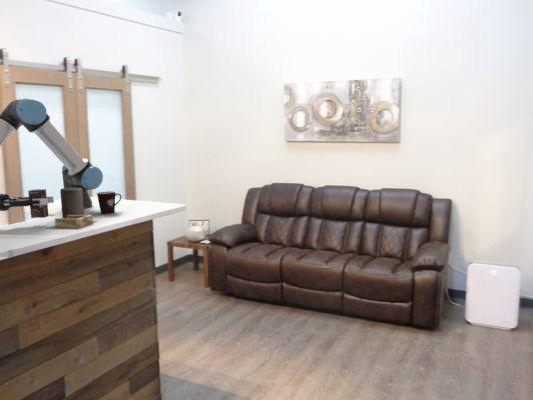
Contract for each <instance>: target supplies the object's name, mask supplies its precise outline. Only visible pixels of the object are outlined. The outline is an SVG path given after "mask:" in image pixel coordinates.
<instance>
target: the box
mask: <svg viewBox="0 0 533 400" xmlns="http://www.w3.org/2000/svg"><path fill="white" fill-rule="evenodd" d="M27 191H28V197H29V199H40V198H47V197H48V196H47V189H46V188H44V189H43V188H42V189H40V188H39V189H31V190H27ZM48 205H49V204H48ZM48 205H33V204H32V207H30V206H29V210H30V218H31V219H35V218H41V219H42V218H43V219H44V218H45V219H46V218H47V217H49V215H50V214H49V207H48Z"/></svg>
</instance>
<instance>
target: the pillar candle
mask: <svg viewBox="0 0 533 400" xmlns="http://www.w3.org/2000/svg"><path fill="white" fill-rule="evenodd" d="M70 187H71V186H70ZM59 193H60V202H61V216H62V218H67V216H66V215H85V210H84V209H85V208H84V207H83V195H82V188H64V187H63V188H60V192H59Z"/></svg>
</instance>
